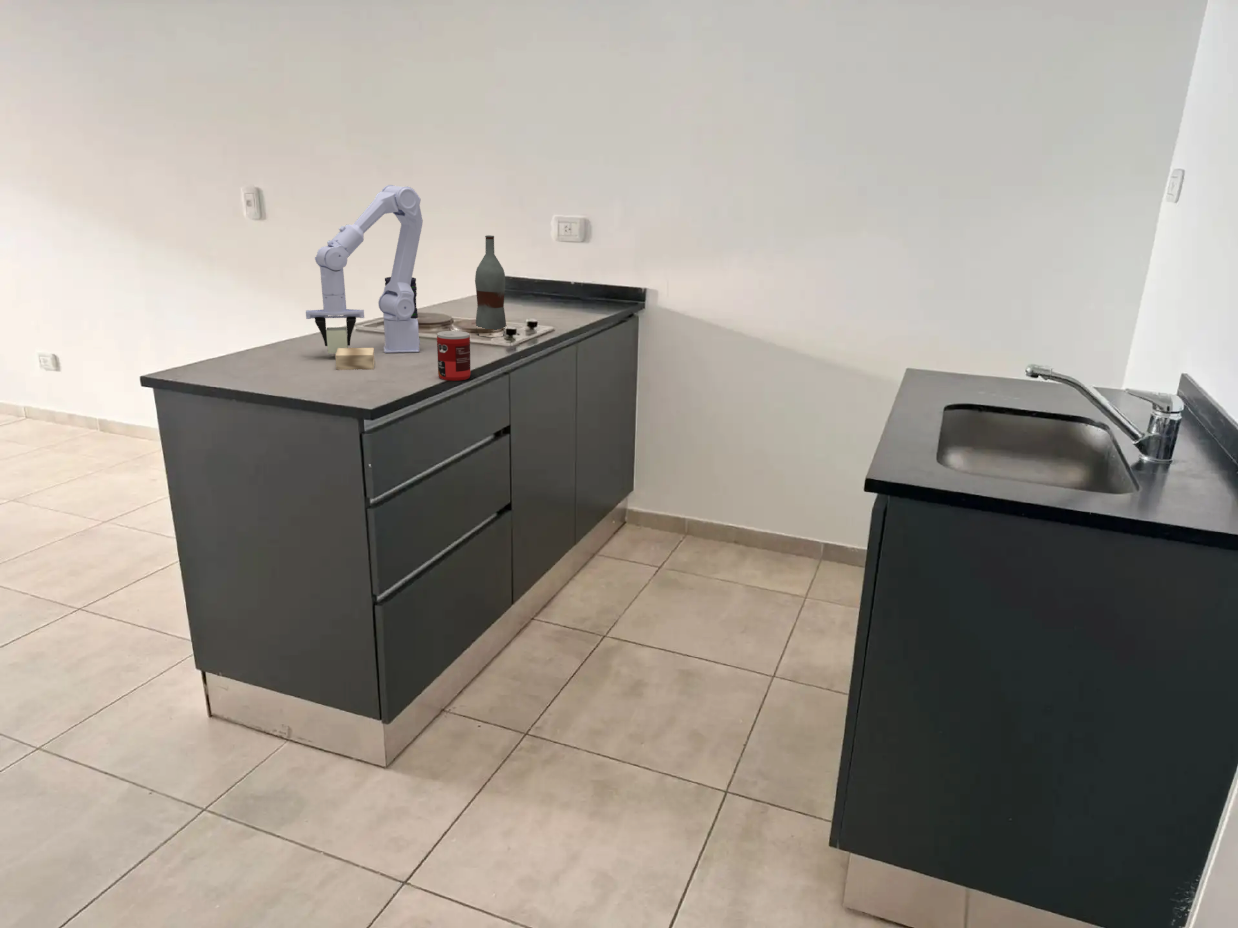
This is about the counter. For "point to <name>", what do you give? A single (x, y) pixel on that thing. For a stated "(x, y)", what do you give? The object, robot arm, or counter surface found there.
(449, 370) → the canned food
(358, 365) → the maple slab
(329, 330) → the sage block
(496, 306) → the bottle
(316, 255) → the robot arm
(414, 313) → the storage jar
